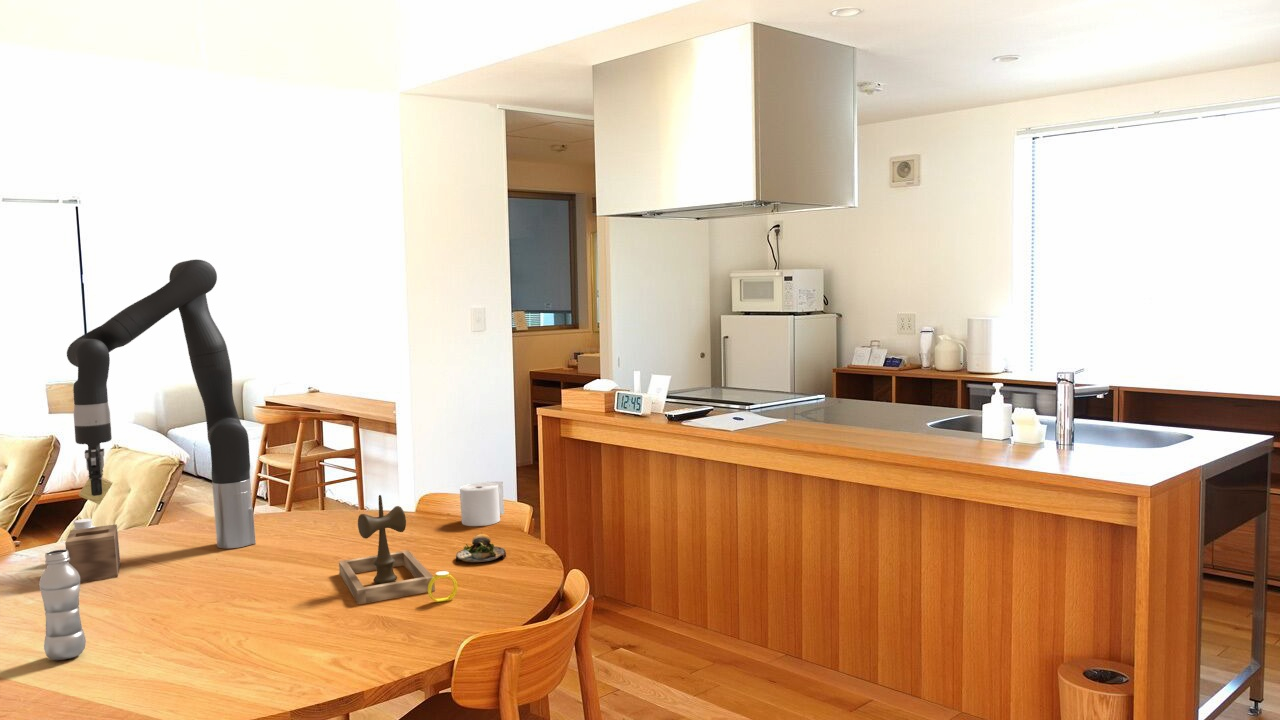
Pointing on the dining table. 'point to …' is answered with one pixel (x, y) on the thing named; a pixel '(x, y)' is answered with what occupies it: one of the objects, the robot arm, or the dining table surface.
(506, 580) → the dining table surface
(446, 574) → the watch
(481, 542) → the burger
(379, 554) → the kendama
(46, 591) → the plastic bottle
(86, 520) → the supplement bottle
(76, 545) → the walnut tissue box
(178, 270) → the robot arm
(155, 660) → the dining table surface
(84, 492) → the yellow wooden block
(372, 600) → the wooden frame
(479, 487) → the toilet tissue
